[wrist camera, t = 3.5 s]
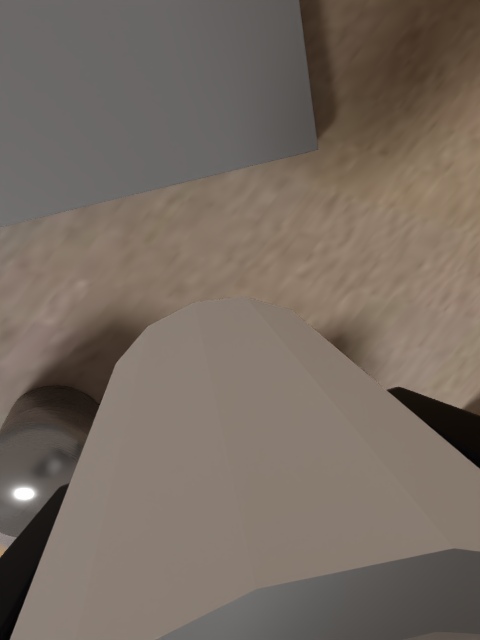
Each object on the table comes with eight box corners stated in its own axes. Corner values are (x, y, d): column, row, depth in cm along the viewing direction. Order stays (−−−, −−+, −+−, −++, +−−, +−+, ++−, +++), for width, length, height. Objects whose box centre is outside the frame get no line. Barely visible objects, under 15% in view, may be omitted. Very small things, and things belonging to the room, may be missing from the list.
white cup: (260, 199, 9) (555, 368, 2) (409, 412, 11) (730, 758, 5) (4, 402, 9) (-322, 974, 3) (204, 558, 12) (258, 1025, 6)
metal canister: (87, 374, 20) (70, 434, 16) (118, 448, 22) (110, 518, 18) (-9, 401, 20) (-52, 469, 16) (30, 473, 22) (1, 552, 17)
